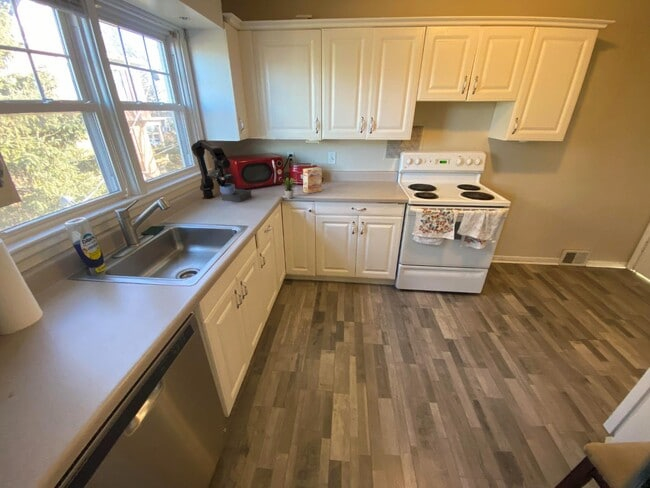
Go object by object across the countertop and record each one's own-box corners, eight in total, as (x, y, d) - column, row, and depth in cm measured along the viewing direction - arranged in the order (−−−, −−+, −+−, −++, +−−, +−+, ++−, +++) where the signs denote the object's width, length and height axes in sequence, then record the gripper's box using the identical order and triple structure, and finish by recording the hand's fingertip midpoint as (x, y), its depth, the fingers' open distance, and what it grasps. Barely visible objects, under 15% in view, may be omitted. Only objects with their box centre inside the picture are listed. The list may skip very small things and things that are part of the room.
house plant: (294, 201, 212) (293, 179, 205) (277, 199, 215) (276, 178, 208) (300, 196, 224) (300, 176, 217) (285, 195, 228) (284, 175, 221)
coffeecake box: (307, 193, 233) (307, 170, 224) (303, 192, 238) (302, 168, 229) (322, 191, 241) (322, 168, 233) (317, 189, 246) (317, 166, 238)
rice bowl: (217, 192, 198) (216, 185, 196) (225, 189, 207) (225, 182, 204) (229, 194, 196) (229, 187, 193) (237, 191, 204) (237, 184, 202)
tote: (222, 199, 213) (221, 193, 211) (234, 194, 227) (233, 188, 224) (240, 201, 209) (239, 195, 207) (251, 196, 222) (250, 190, 220)
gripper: (199, 167, 190) (203, 189, 197) (222, 169, 185) (226, 192, 192) (210, 164, 200) (213, 186, 207) (232, 166, 195) (235, 188, 201)
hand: (221, 188), depth 201 cm, fingers closed on rice bowl
